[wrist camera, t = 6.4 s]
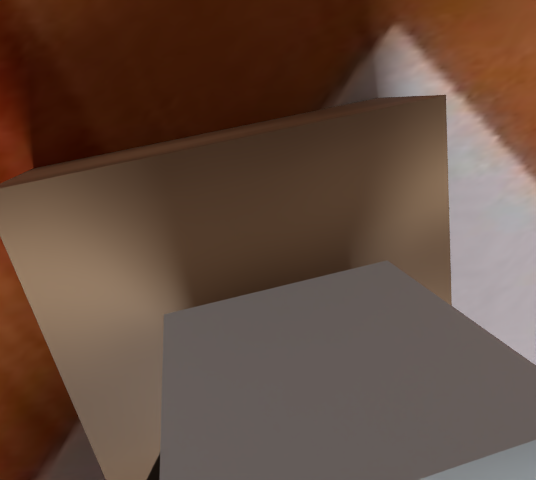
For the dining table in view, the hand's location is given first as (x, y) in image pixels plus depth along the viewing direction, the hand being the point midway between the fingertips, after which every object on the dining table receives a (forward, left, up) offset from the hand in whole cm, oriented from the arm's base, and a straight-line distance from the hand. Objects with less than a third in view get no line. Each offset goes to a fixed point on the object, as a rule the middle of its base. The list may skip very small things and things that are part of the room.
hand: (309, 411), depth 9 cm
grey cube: (0, 0, -1) cm, 1 cm away
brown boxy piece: (0, 0, -7) cm, 7 cm away
